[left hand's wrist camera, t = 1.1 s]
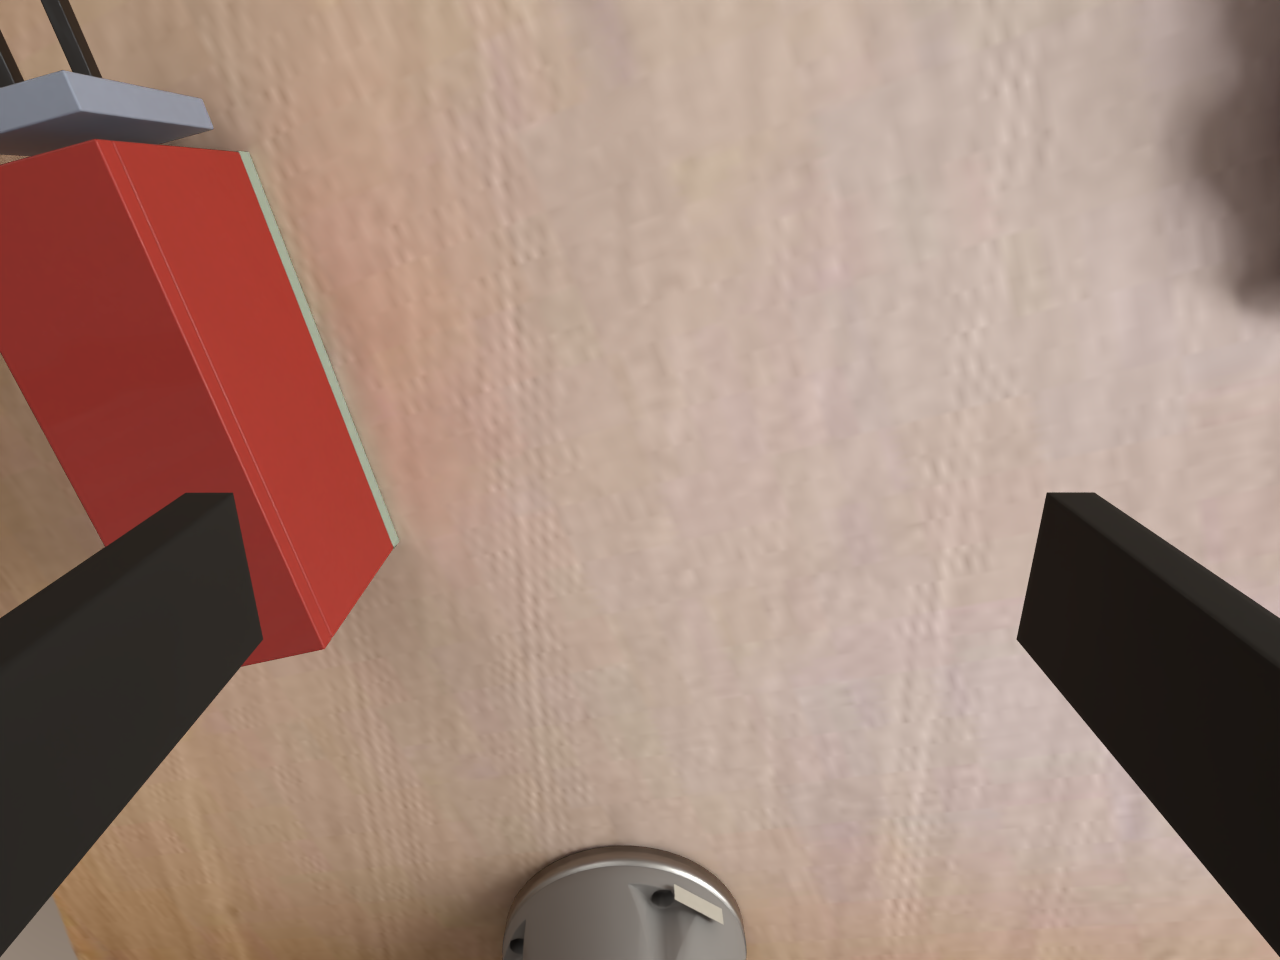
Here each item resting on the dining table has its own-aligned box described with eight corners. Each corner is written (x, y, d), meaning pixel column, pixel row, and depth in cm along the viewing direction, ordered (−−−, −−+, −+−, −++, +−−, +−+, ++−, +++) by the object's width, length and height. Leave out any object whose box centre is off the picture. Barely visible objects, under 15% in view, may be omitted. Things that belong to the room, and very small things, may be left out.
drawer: (20, -21, 30) (-192, -91, 22) (141, -57, 29) (-32, -142, 22) (260, 514, 38) (166, 595, 30) (358, 491, 37) (288, 568, 30)
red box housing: (113, 188, 33) (-90, 188, 24) (248, 151, 33) (95, 137, 24) (283, 566, 40) (176, 681, 31) (399, 541, 39) (325, 650, 30)
